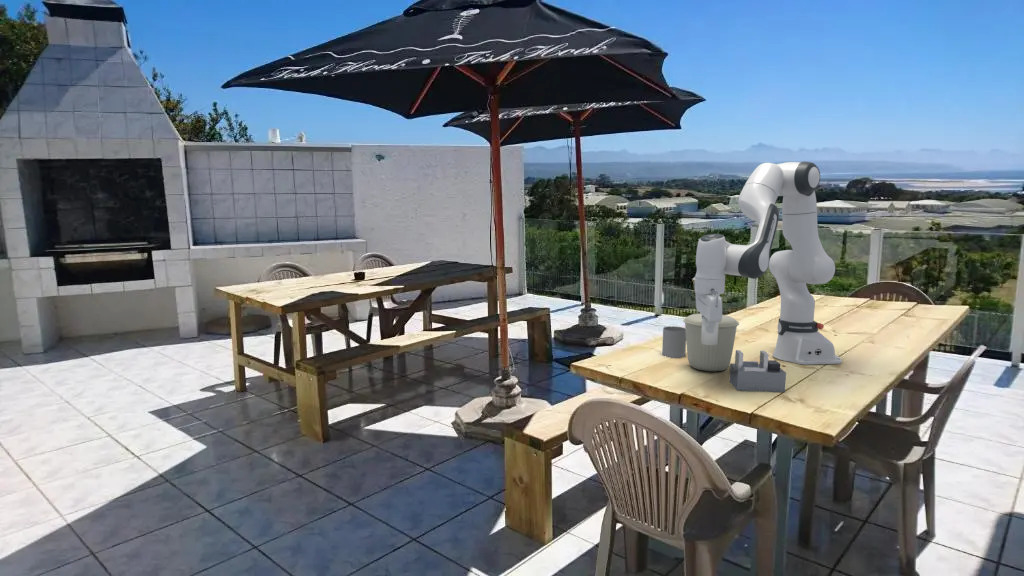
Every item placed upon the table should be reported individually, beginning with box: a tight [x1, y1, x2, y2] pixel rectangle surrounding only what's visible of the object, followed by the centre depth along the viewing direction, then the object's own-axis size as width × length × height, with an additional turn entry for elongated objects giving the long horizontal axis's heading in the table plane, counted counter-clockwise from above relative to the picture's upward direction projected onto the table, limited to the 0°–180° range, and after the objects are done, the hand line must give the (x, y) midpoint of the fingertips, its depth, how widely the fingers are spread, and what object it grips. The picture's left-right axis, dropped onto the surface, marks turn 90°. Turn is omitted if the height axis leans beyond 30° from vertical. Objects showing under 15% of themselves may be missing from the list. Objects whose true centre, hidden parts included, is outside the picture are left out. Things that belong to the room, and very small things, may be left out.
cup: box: [661, 325, 687, 359], centre depth 223 cm, size 8×8×10 cm
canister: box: [682, 313, 740, 372], centre depth 206 cm, size 18×18×21 cm
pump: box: [701, 317, 719, 345], centre depth 190 cm, size 5×5×9 cm
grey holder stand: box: [728, 349, 787, 393], centre depth 186 cm, size 14×9×11 cm, turn 85°
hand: (707, 330), depth 190 cm, fingers closed on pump, 5 cm apart
